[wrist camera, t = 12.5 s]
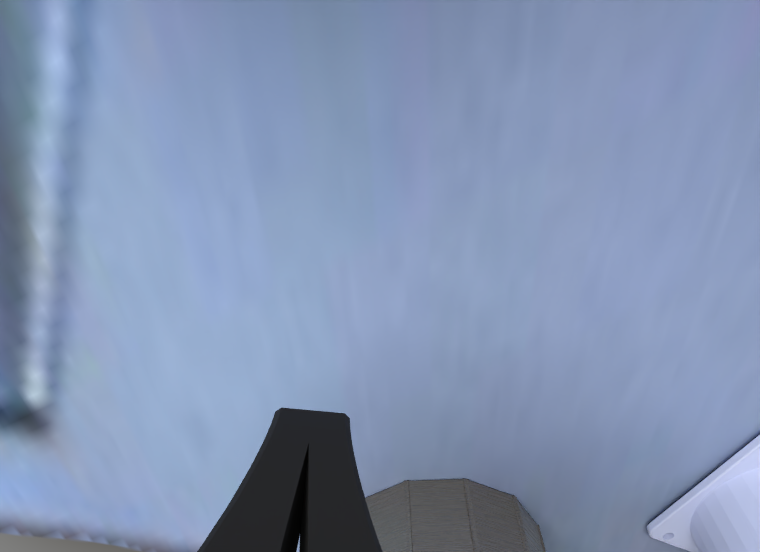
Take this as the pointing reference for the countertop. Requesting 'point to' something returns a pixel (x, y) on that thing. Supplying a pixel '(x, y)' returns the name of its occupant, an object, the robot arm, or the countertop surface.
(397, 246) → the countertop surface
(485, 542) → the brown faceted tube
